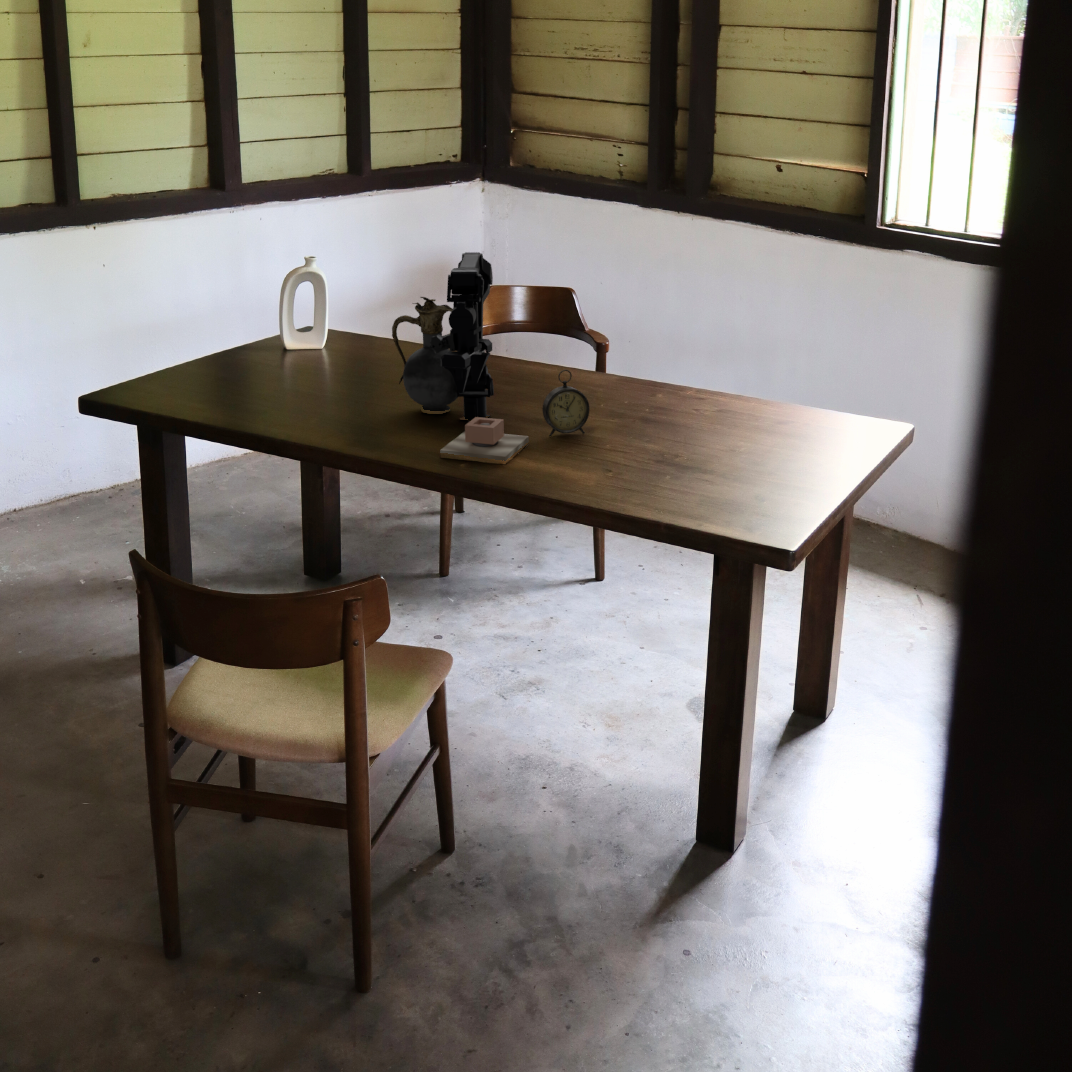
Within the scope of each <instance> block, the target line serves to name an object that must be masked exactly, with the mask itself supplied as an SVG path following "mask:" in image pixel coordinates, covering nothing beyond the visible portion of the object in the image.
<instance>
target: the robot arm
mask: <svg viewBox="0 0 1072 1072" xmlns="http://www.w3.org/2000/svg"><path fill="white" fill-rule="evenodd" d="M483 254H484V253H482V252H477V251H476V252H475V251H474V252H470V251H469V252H464V253H461V260H460V261H459V262H458V264H457V267H455V268H452V269H451V270H450V274H448V275H447V286H446V287H447V291H446V303H453V306H452V309H453V310H452V312H450V313H449V315H448V324H449V326H450V328H451V329H450V331H449V333H448V334H447V333H446V334H444V335H442V336H440V335H437V336H434V337H432V338H431V342H430V344H431V345H430V348H431V349H433V350H434V351H435V353H439V352H440V351H443V350H446V349H449V350H450V351H449V352H447V353H446V354H444V355H443V356H442V357H441V358H440V360H441V366H442V367H444V368H445V369H447V370H449V371H450V372H451V373H452V376H453V378H454V381H455V384H456V387H457V397H458V398H461V397H462V398H463V415H464V417H465V419H468V420H472V419H474V418H475V417H482V418H485V417H486V416H490V415H487V414H486V413H487V398H491V397H492V396H494V395H495V394H494V381H493V378H492V376H491V373H489V369H488V366H487V364H486V363H487V361H488V359H489V357H490V356H491V352H492V351H493V342H492V341H491V340H490V338H483V335H484V333H483V332H484V330H483V329H484V302H485V301H486V299H487V298H488V296H489V295H490V293H491V292H490V291H491V286H492V285H493V268H492V264H491V262H489V261H488V260H486V259H485V258H484V255H483ZM490 417H491V416H490Z"/></svg>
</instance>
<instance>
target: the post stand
mask: <svg viewBox="0 0 1072 1072" xmlns="http://www.w3.org/2000/svg"><path fill="white" fill-rule="evenodd" d="M480 425H489V426H490V424H489V423H481V424H480ZM529 437H530V436H528V435H521V434H520V435H518V434H511V433H509V434H508V433H504V436H503V437H502V438H501V439H500V440H498V441H497V442H496V443H495V444H494V445H493V444H482V443H472V442H465V431H463V432H462V433H460V434H459V435H458V436H457V437H456V438H454V439H453V440H451V441H450V442H448V443H447V444H446V445H444V447H442V448H441V449H440V450H439V451H440V453H448V454H454V455H464V456H470V457H478V458H488V459H495V460H502V461H503V460H504V461H506V460H507V459H508V458H510V457H511V456H512V455H513V454H514V453H515V452H517V451H518V450H519V449H520V448H522V446H524V445H525V444H526V443H528V442H529V443H530V441H529V440H530V439H529Z"/></svg>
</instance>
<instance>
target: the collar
mask: <svg viewBox="0 0 1072 1072" xmlns="http://www.w3.org/2000/svg"><path fill="white" fill-rule="evenodd" d="M504 420H505V419H501V418H491V417H489V418H482V417H475V418H474V419H472V420H471V421H468V422H467V423H466V424H465V425H464V432H465V442H472V443H482V444H493V445H494V444H495V443H496V442H497V441H498V440H500V439H501V438H502V437H503V436H504V434H505V424H504V423H505V421H504ZM481 423H489V424H490V426H489V425H480V424H481Z"/></svg>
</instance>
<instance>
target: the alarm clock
mask: <svg viewBox="0 0 1072 1072" xmlns="http://www.w3.org/2000/svg"><path fill="white" fill-rule="evenodd" d="M563 372H568V373H569V375H570V376H569V379H568V380H563V381H562V380H561V378H560V376H561V374H562V373H563ZM572 376H573V374H572V372H571V371H570V370H569V369H562V370H561V371H560V372H559V373H558V377H557V378H558V380H559V382H560V383H561V384H562V386H558V387H555V388H554V389H552V390H551V391H550V392H549V393H548V394H547V395H546V396H545V398H544V399H543V403H542V409H541V410H542V416H543V419H544V421H545V422H546V423H547V424H548V426H549V427H551V428H552V430H551V432H550V434H548V437H549V436H551V437H552V436H553V435H554V433H555V432H559V433H560V434H561V433H562V434H571V433H575V432H577V431H578V430H579V431H580V432H581V433H582V434H583V435H584V434H585V433H586V431H585V430H583V428H582V427H583V426H584V425H585V424H586V422H587V421H588V419H589V416H590V411H591V410H590V403H589V400H588V398H587V396H586V395H585V394H584V393H583V392H582V391H580V390H578V388H574V387H572V386H569V385H567V383H569V382H570V381H571V380H572Z"/></svg>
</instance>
